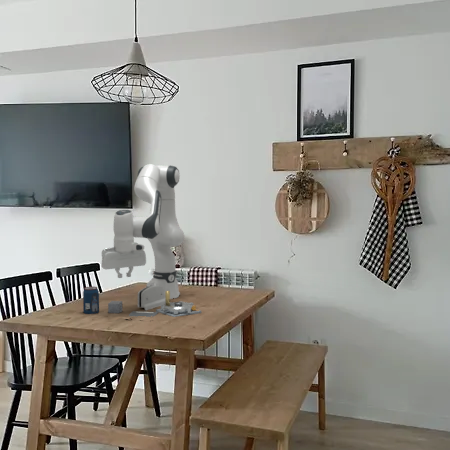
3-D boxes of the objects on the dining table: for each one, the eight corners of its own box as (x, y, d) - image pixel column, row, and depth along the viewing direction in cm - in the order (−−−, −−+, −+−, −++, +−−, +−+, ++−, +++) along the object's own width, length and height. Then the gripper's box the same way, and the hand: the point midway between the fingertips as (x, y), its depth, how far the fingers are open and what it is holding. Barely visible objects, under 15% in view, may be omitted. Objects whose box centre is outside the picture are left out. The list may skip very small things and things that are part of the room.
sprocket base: (155, 311, 238) (155, 309, 238) (182, 306, 248) (182, 304, 248) (174, 318, 227) (174, 316, 227) (201, 313, 236) (201, 310, 236)
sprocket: (157, 313, 230) (157, 295, 229) (164, 304, 246) (164, 287, 245) (193, 314, 229) (193, 295, 228) (197, 305, 245) (197, 287, 244)
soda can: (88, 311, 239) (87, 285, 238) (102, 312, 237) (101, 286, 236) (80, 315, 232) (79, 289, 231) (94, 316, 230) (93, 289, 229)
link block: (119, 314, 234) (107, 314, 234) (122, 311, 239) (111, 311, 239) (118, 303, 233) (107, 303, 234) (122, 301, 238) (111, 300, 239)
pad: (124, 320, 224) (124, 318, 224) (132, 312, 236) (132, 310, 236) (151, 321, 223) (151, 319, 223) (158, 313, 235) (158, 311, 235)
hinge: (145, 310, 240) (143, 289, 240) (137, 310, 243) (135, 289, 242) (168, 303, 254) (166, 283, 254) (160, 303, 257) (158, 283, 256)
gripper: (104, 249, 222) (104, 281, 223) (147, 245, 233) (147, 275, 235) (98, 247, 227) (99, 278, 228) (141, 244, 238) (141, 273, 240)
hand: (124, 277), depth 231 cm, fingers open, 3 cm apart
